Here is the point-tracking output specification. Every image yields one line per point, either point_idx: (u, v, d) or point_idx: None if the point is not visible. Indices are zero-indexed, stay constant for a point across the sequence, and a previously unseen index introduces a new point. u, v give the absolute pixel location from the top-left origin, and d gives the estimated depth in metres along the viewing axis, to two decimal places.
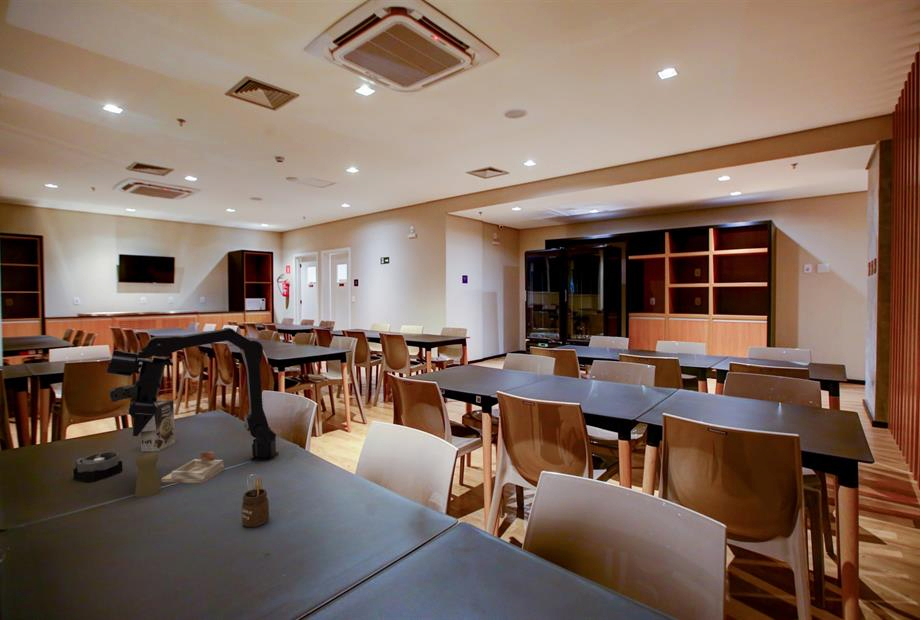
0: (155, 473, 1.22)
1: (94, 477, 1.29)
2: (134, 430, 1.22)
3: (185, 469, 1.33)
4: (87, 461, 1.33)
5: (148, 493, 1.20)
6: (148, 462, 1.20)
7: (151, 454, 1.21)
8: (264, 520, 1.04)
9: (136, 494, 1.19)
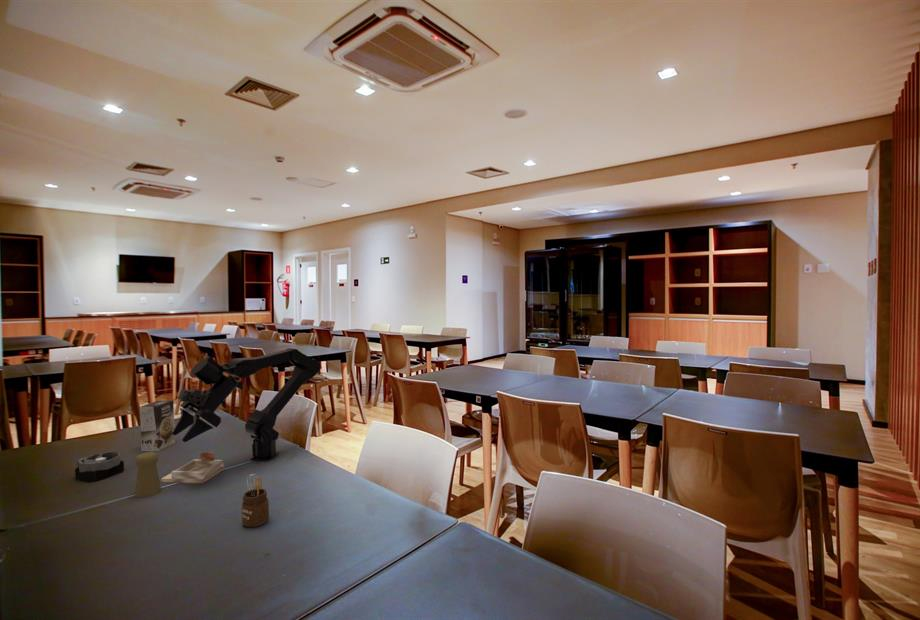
0: (155, 473, 1.22)
1: (96, 477, 1.29)
2: (187, 435, 1.24)
3: (185, 469, 1.33)
4: (89, 461, 1.33)
5: (148, 493, 1.20)
6: (148, 462, 1.20)
7: (152, 454, 1.21)
8: (264, 520, 1.04)
9: (136, 494, 1.19)
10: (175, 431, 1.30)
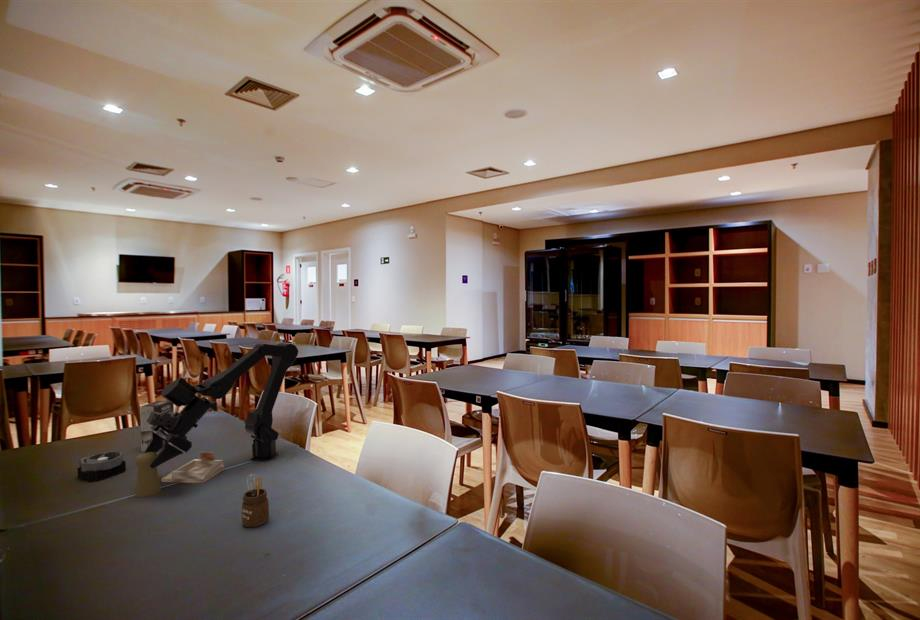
0: (155, 473, 1.22)
1: (97, 477, 1.29)
2: (155, 461, 1.18)
3: (185, 469, 1.33)
4: (91, 460, 1.33)
5: (148, 493, 1.20)
6: (148, 462, 1.20)
7: (152, 454, 1.21)
8: (264, 520, 1.04)
9: (136, 494, 1.19)
10: None
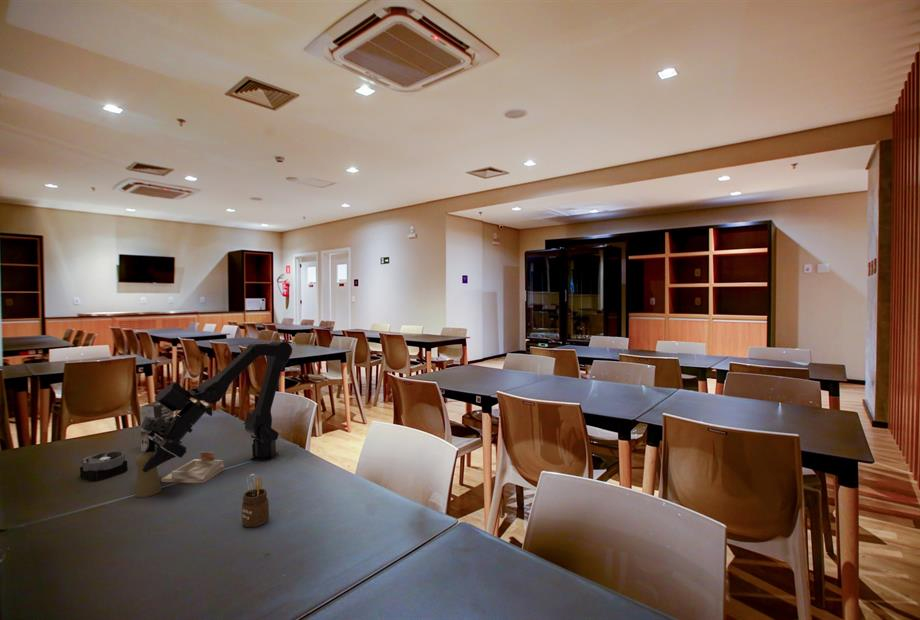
0: (155, 473, 1.22)
1: (98, 476, 1.30)
2: (147, 465, 1.19)
3: (185, 469, 1.33)
4: (93, 460, 1.34)
5: (148, 493, 1.20)
6: None
7: (151, 454, 1.21)
8: (264, 520, 1.04)
9: (136, 494, 1.19)
10: None
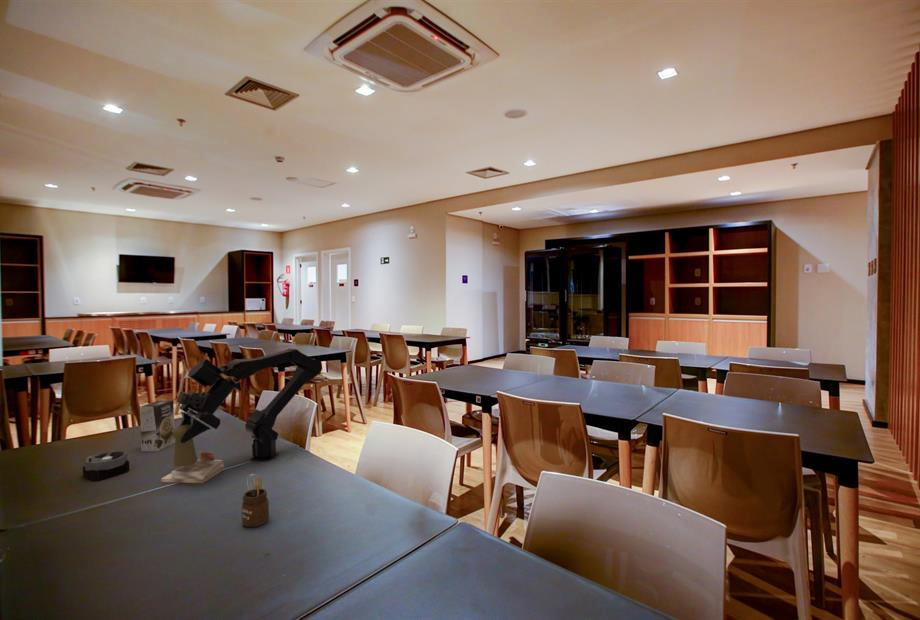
0: (191, 444, 1.29)
1: (99, 476, 1.30)
2: (185, 436, 1.26)
3: (185, 469, 1.33)
4: (96, 459, 1.34)
5: (186, 462, 1.27)
6: None
7: (188, 426, 1.29)
8: (264, 520, 1.04)
9: (175, 464, 1.27)
10: None
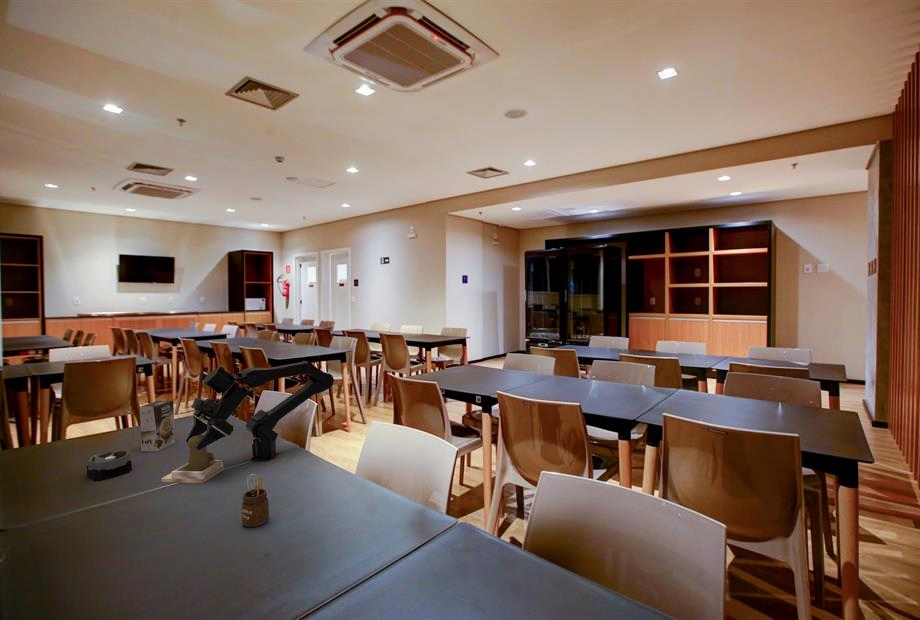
0: (205, 454, 1.33)
1: (100, 476, 1.30)
2: (200, 443, 1.28)
3: (185, 469, 1.33)
4: (99, 459, 1.35)
5: None
6: None
7: (202, 437, 1.32)
8: (264, 520, 1.04)
9: None
10: None
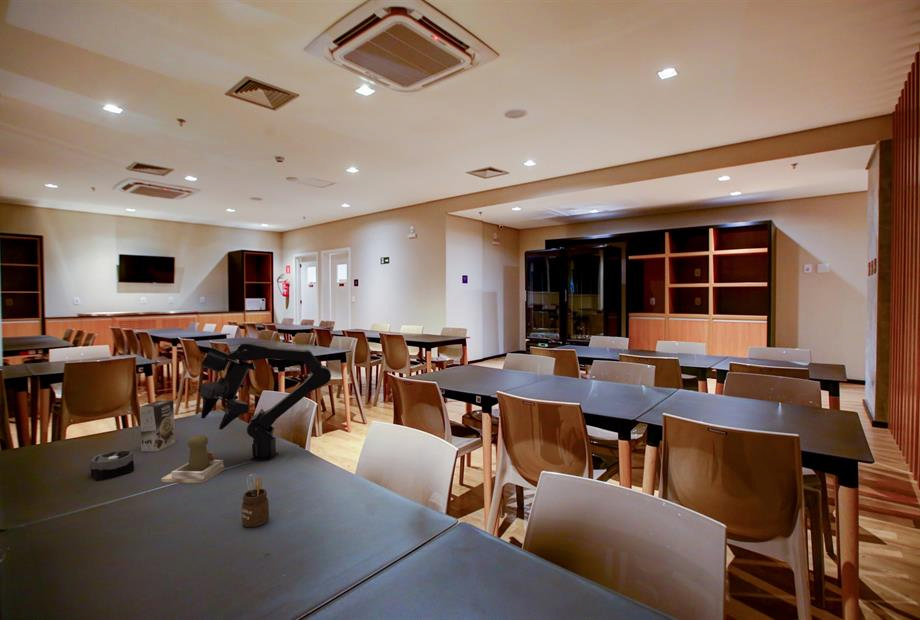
0: (205, 454, 1.33)
1: (102, 476, 1.30)
2: (222, 424, 1.38)
3: (185, 469, 1.33)
4: (103, 458, 1.35)
5: None
6: (200, 444, 1.31)
7: (202, 437, 1.32)
8: (264, 520, 1.04)
9: None
10: (203, 415, 1.42)
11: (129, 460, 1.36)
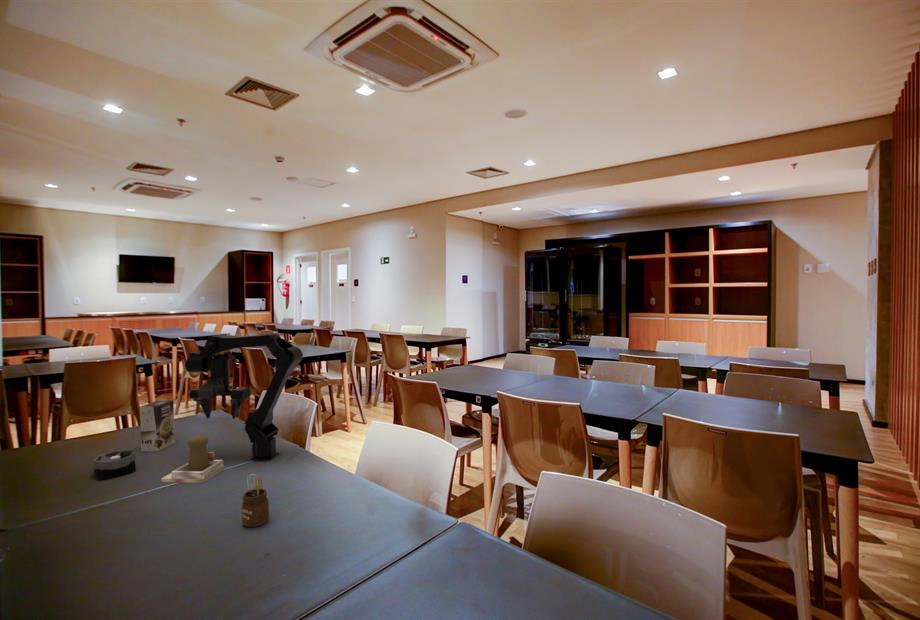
0: (205, 454, 1.33)
1: (103, 476, 1.30)
2: (235, 414, 1.47)
3: (185, 469, 1.33)
4: (105, 458, 1.35)
5: None
6: (200, 444, 1.31)
7: (202, 437, 1.32)
8: (264, 520, 1.04)
9: None
10: (208, 415, 1.48)
11: (131, 460, 1.36)
